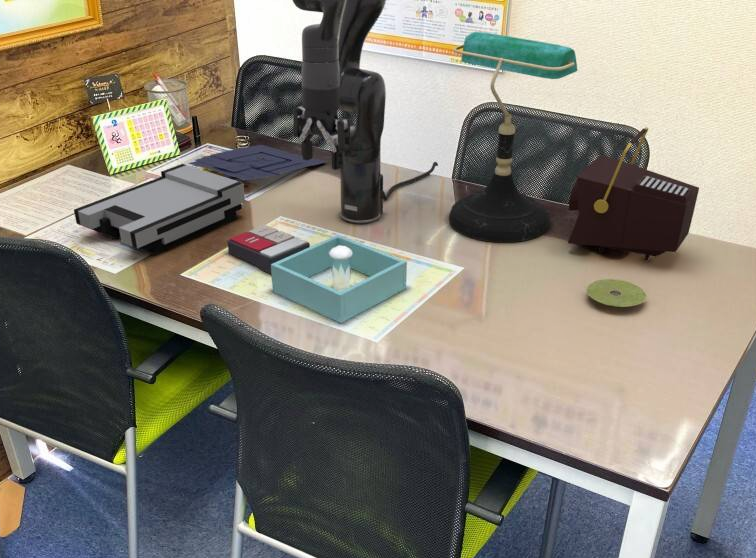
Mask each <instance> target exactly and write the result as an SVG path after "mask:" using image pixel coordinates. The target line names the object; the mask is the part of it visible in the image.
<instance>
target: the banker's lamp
mask: <svg viewBox="0 0 756 558" xmlns="http://www.w3.org/2000/svg"><path fill="white" fill-rule="evenodd" d="M461 49H462V50H461ZM452 50H453V52H454V53H455V54H459V55H461V59H460V61H461V62H462V63H465V64H469V65H475V66H480V67H485V68H490V69H495V70H494V72H493V75H492V78H491V81H490V91H491V93H492V95H493V97H494V99H495V100H496V102H497V104H498V106H499V107H500V109H501V111H502V112H503V114H504V122H502V123H501V124H500V125H499V127H498V141H497V153H496V154H497V155H495V157H496V158H495V162H496V164H497V165H496V166H495V169H494V171H493V174H492V176H491V178H490V180H489V182H488V184H487V185H486V186H485V188H484V189H483V190H479V191H476V192H475V191H474V192H472V193H469V194H468V195H465V196H463V197H460V199H458V200H457V201H456V202H455V203H454V204H453V205H452V206H451V210H450V212H449V216H448V223H449V225H450V226H451V228H453V229H454V230H455V231H456V232H457V233H460V234H462V235H463V236H465V237H467V238H468V237H469V238H471V239H475V240H479V241H483V242H489V243H517V242H524V241H528V240H529V241H530V240H533V239H535V238H537V237H540V236H541V235H543V234H544V233H546V231H548V228H549V224H550V222H549V221H550V220H549V214H548V211H547V209H546V208H545V207H544V206H543V205H542V204H541V203H540V202H539V201H538V200H535V199H534V198H532V197H531V196H529V195H527V194H525V193H521V192H520V191H519V189H518V188H517V186H516V183H515V180H514V177H513V173H512V167H511V166H510V165H511V164H512V163H513V150H514V139H515V134H516V125H514V123H512V117H513V116H512V114H511V113H509V112H508V110H507V108H506V106H505V105H504V103H503V101H502V100H501V98H500V96H499V94H498V92H497V91H496V88H495V82H496V79H497V78H498V75H499V73H500V71H505V72H511V73H516V74H519V75H520V74H521V75H525V76H531V77H536V78H541V79H548V80H560V79H561V78H565V77H567V76H570V75H572V74H574V73H576V72H578V62H577V56H576V52H575V50H574V49H573V48H571V47H569V46H566V45H561V44H557V43H556V44H555V43H550V42H546V41H545V42H544V41H539V40H532V39H526V38H521V37H515V36H509V35H508V36H507V35H503V34H497V33H490V32H485V31H484V32H483V31H473V32H471V33H470V34H467V35H466V36H465V38H464V42H463V44H460V45H458V46H455V47H453V49H452Z"/></svg>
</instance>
